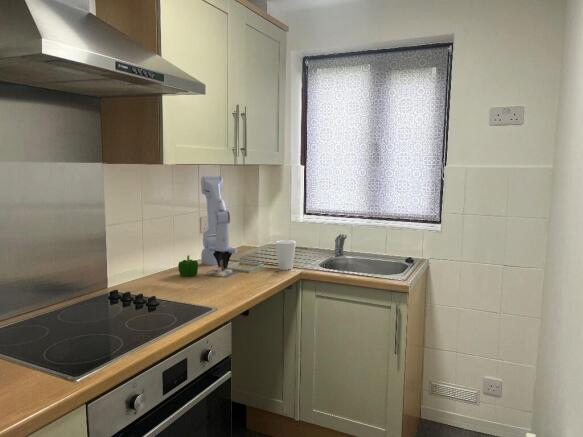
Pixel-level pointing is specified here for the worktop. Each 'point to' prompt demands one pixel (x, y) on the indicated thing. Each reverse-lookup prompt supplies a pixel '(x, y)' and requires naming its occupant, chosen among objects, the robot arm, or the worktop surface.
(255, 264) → the tray
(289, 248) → the foam cup
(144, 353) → the worktop surface
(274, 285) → the worktop surface
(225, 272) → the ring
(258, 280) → the worktop surface
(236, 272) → the stake board
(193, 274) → the bell pepper
